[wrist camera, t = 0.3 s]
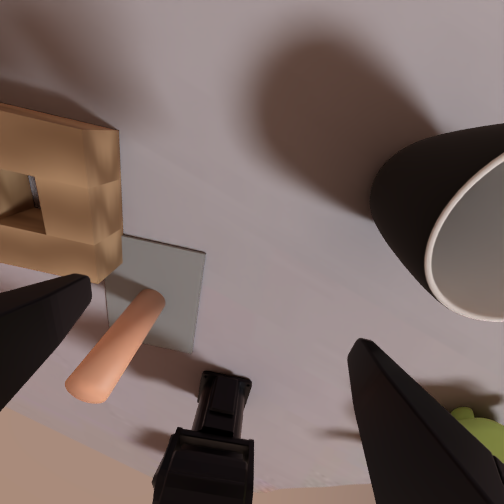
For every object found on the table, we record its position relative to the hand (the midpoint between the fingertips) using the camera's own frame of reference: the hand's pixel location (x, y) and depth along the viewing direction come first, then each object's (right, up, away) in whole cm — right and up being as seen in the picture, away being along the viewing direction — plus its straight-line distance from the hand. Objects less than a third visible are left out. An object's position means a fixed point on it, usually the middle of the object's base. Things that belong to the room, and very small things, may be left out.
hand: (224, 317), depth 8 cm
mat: (-10, -3, +18) cm, 21 cm away
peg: (-10, -3, +18) cm, 20 cm away
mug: (+15, +7, +11) cm, 20 cm away
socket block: (-17, +8, +13) cm, 22 cm away
